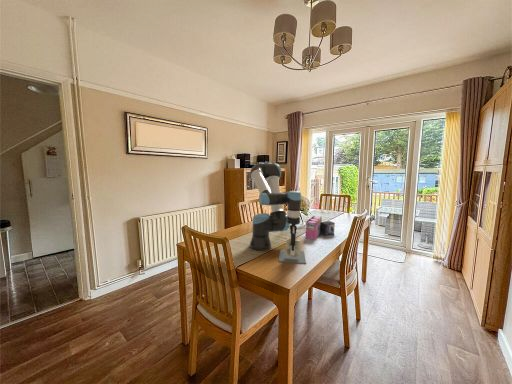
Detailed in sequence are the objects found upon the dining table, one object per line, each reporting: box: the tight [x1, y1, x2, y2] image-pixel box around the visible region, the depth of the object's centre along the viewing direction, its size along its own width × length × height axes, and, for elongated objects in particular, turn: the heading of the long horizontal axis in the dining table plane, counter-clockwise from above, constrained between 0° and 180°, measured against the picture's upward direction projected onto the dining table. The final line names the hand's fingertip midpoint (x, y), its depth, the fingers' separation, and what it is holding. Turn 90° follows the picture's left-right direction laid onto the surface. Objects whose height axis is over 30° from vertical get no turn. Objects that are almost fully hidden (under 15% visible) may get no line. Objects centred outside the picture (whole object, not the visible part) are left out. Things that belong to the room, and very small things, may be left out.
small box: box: [319, 220, 335, 237], centre depth 181 cm, size 11×6×10 cm, turn 116°
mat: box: [278, 249, 307, 265], centre depth 136 cm, size 16×18×1 cm
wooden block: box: [285, 238, 301, 257], centre depth 131 cm, size 8×2×10 cm, turn 81°
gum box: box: [305, 215, 323, 240], centre depth 180 cm, size 24×8×14 cm, turn 151°
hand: (292, 254), depth 132 cm, fingers closed on wooden block, 2 cm apart
